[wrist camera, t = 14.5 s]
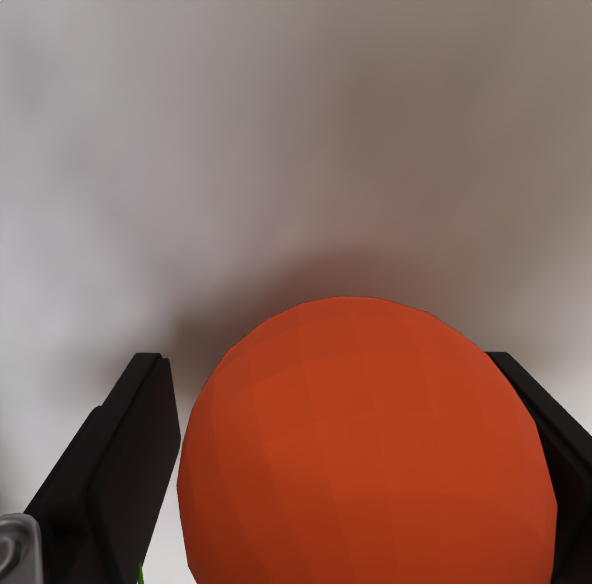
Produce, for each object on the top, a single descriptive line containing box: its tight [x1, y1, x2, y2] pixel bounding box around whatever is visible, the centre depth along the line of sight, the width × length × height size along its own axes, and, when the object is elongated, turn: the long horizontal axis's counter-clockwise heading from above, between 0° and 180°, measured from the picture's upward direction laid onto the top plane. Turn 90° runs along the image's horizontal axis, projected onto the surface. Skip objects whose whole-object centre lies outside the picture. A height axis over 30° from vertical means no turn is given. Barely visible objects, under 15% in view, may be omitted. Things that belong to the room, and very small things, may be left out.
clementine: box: [138, 296, 558, 584], centre depth 7 cm, size 8×7×7 cm
